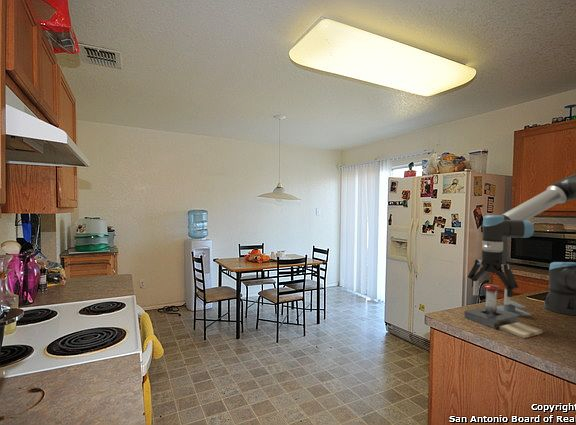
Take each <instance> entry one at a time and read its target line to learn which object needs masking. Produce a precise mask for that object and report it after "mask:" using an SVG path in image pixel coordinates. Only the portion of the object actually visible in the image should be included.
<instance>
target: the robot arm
mask: <svg viewBox="0 0 576 425" xmlns="http://www.w3.org/2000/svg"><path fill="white" fill-rule="evenodd" d="M572 200H576V173H573V174H571V175H568V176H566V177H564V178H562V179H560V180H557V181H556V182H554V183H552V184H551V185H549V186H547V188H546V190H544V191H542V192H541V193H539V194H537V195H535V196H533V197H532V198H530V199H528V200H526V201H524V202H522V203H520V204H519V205H517V206H515V207H513V208H511V209H510V210H508V211H506V212H503V214H500V215H497V214H496V215H489V214H488V215H484V216H483V217H482V219H483V220H482V225H481V226H482V241H481V242H482V243H481V244H482V245H481V248H482V251H481V258H479V259H475V260H474V264H473V266H472V268H471V270H470V272H469V273H468V275H467V278H468V279H470V280H471V288H472V295H473V296H479V294H480V292H479V291H480V289H479V288H480V281H479V279H480V278H481V277H482V276H483V275H484V274H485V273H487V272H488V273H492V274H495V275H497V277H498V278H499V279H500V281H501V282H502V283H503V285H504V286H505V288H504V296H503V297H504V299H503V305H504V304H505V305H508V304H510V300H511V298H512V297H513V293H514V292H513V291H514V289H515V290H516V289H518V288H519V285H518V283H517V281H516V278H515V276H514V274H513V273H512V269H511V268H512V267H511V264H509V263H507V264H503V260H504V256H503V251H504V238H515V239H517V238H519V239H523V238H524V239H527V238H531V237H532V236H533V234H534V233H535V227H534V224H533V222H531V221H529V220H530V219H532V218H533V217H535V216H538V215H540V214H541V213H542V212H545V211H546V210H549V209H550V208H552V207H554V206H556V205H557V204H564V203H566V202H568V201H572ZM480 266H482V267H481V268H480ZM543 307H544V309H546V310H548V311H551V312H554V313H558V314H561V315H562V314H563V315H568V316H576V262H572V261H566V262H565V261H553V262H550V264H549V269H548V293H547V295H546V297H545V299H544V302H543Z"/></svg>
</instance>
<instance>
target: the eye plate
mask: <svg viewBox="0 0 576 425" xmlns="http://www.w3.org/2000/svg"><path fill="white" fill-rule="evenodd" d="M519 317H520V316H519V315H515V314H512V313H509V312H505V311H502V310H499V309H497V316H491V315H488V314H486V306H483V307H478V308H473V309H468V310H465V311H464V318H465V319H467V320H469V321H470V320H471V321H472V322H476V323H479V324H481V325H483V326H487V327H489V328H493V329H497V328H499V327H500V326H503V325H507V324H512V323H516V322H520V320H519Z"/></svg>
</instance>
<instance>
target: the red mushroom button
mask: <svg viewBox="0 0 576 425" xmlns="http://www.w3.org/2000/svg"><path fill="white" fill-rule="evenodd" d="M483 288H484V289H485V307H486V314H488V315H491V316H497V306H498V304H497V303H498V291H499V290H500V289H501V286H500V285H498V284H491V283H484V284H483Z"/></svg>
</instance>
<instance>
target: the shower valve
mask: <svg viewBox="0 0 576 425" xmlns="http://www.w3.org/2000/svg"><path fill="white" fill-rule="evenodd" d="M519 308H520V309H519ZM497 309H499V310H502V311H505V312H509V313H512V314H515V315H519V317H531V316H532V314H531V313H529V312H526V311H524V310H522V309H528V307H527V306H526V305H523V304H520V302H516V301H514V300H511V299H510V304H508V305H505V304H504V303H503V305H497Z"/></svg>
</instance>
